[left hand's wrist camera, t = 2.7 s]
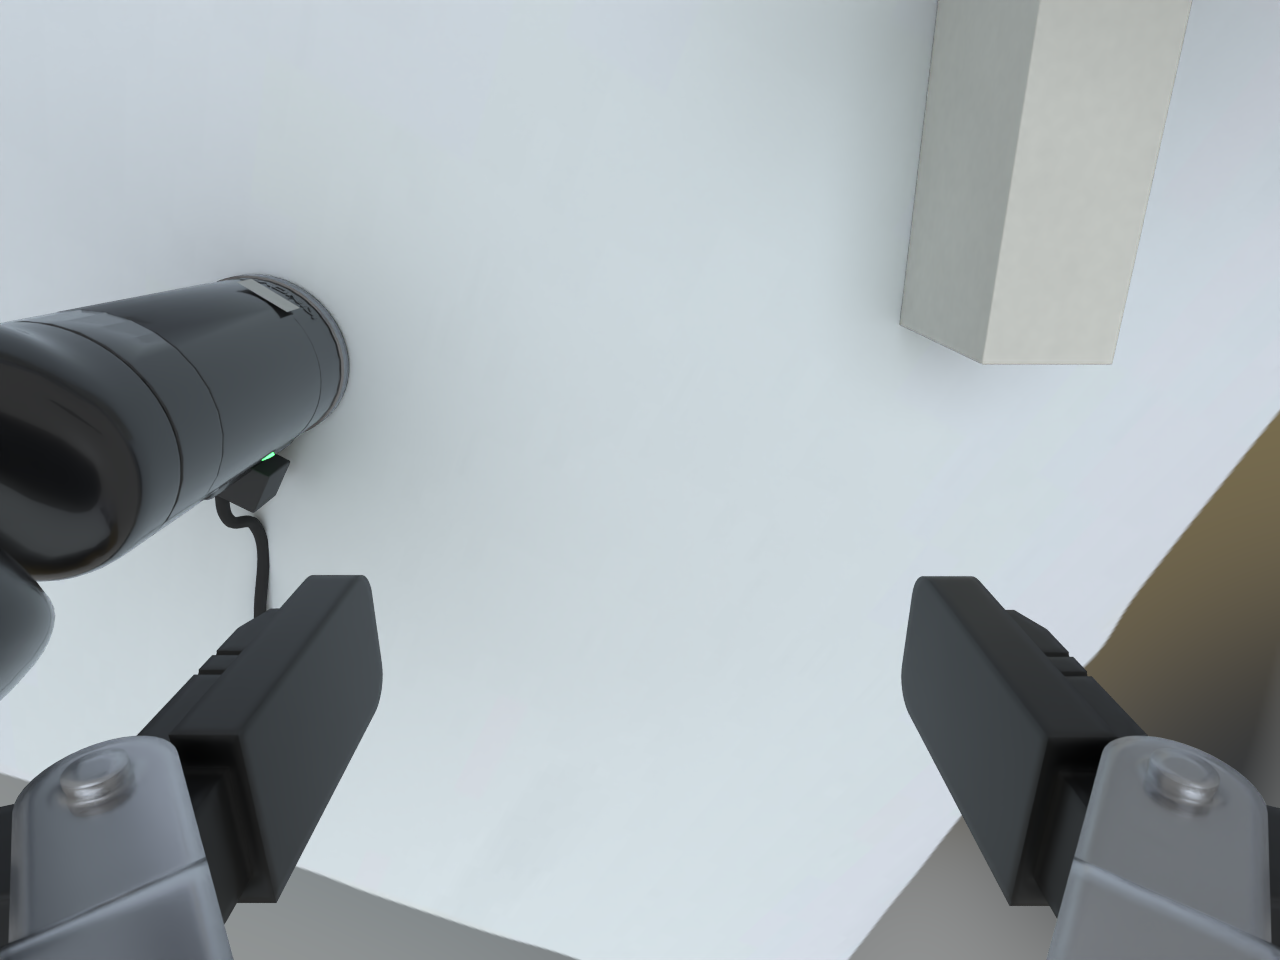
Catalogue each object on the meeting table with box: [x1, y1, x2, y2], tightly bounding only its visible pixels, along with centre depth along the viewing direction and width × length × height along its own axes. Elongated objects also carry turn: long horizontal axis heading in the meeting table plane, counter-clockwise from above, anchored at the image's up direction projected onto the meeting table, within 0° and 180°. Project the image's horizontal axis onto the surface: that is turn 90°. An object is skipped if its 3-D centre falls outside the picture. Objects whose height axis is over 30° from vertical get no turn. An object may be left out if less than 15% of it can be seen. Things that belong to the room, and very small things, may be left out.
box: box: [900, 0, 1192, 364], centre depth 34 cm, size 24×6×11 cm, turn 0°
